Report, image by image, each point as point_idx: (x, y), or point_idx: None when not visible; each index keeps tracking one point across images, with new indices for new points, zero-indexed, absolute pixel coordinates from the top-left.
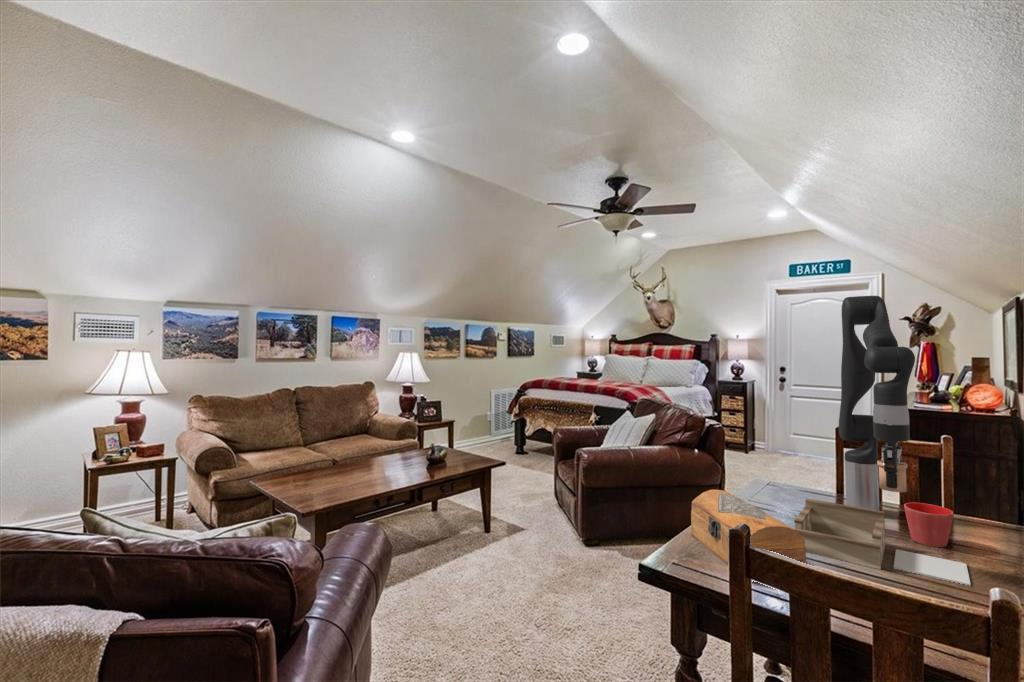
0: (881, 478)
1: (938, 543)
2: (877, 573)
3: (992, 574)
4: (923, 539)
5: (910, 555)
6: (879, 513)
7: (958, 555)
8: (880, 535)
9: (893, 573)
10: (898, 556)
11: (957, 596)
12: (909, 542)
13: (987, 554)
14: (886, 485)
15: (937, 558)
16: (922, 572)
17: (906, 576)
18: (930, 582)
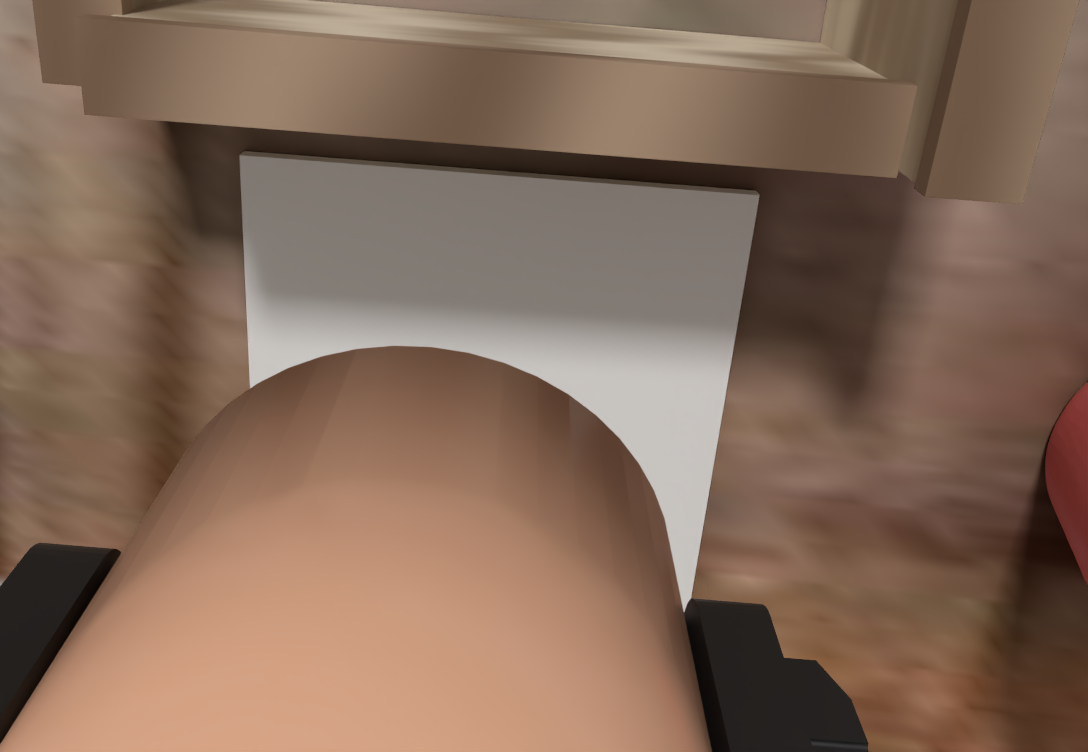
0: (156, 548)
1: (1056, 512)
2: (19, 19)
3: None
4: (1077, 427)
5: (645, 295)
6: (930, 141)
7: (903, 586)
8: (164, 112)
9: (129, 143)
10: (555, 204)
11: (5, 491)
12: (1080, 307)
13: (1025, 733)
14: (29, 554)
15: (695, 465)
16: (269, 346)
17: (138, 231)
18: (142, 373)
